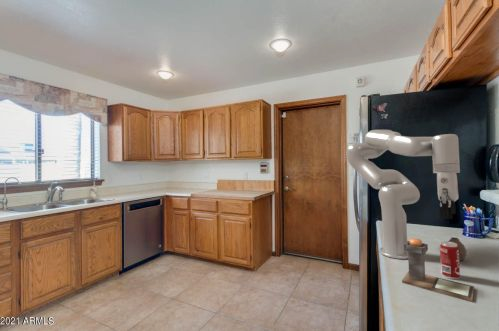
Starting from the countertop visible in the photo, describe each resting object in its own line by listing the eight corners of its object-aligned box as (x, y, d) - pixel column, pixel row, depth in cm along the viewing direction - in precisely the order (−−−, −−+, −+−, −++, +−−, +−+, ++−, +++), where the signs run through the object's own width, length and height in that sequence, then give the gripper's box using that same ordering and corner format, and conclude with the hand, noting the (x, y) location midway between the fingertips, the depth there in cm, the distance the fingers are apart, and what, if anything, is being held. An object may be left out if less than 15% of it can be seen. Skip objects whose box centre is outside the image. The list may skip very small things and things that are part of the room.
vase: (440, 256, 105) (440, 236, 105) (457, 255, 105) (456, 235, 105) (453, 262, 98) (453, 241, 98) (471, 261, 98) (470, 240, 98)
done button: (408, 246, 85) (408, 240, 85) (411, 243, 87) (410, 237, 87) (420, 248, 82) (420, 242, 82) (423, 245, 85) (422, 239, 85)
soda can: (451, 272, 89) (449, 240, 89) (464, 279, 84) (462, 245, 84) (437, 273, 89) (436, 241, 89) (449, 280, 84) (448, 245, 84)
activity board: (402, 282, 84) (400, 245, 84) (409, 272, 91) (407, 238, 91) (472, 302, 71) (470, 258, 71) (474, 288, 78) (472, 249, 78)
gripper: (456, 169, 78) (459, 222, 78) (462, 167, 90) (464, 213, 90) (428, 170, 83) (430, 219, 83) (436, 168, 95) (438, 211, 95)
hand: (448, 216), depth 87 cm, fingers open, 9 cm apart
